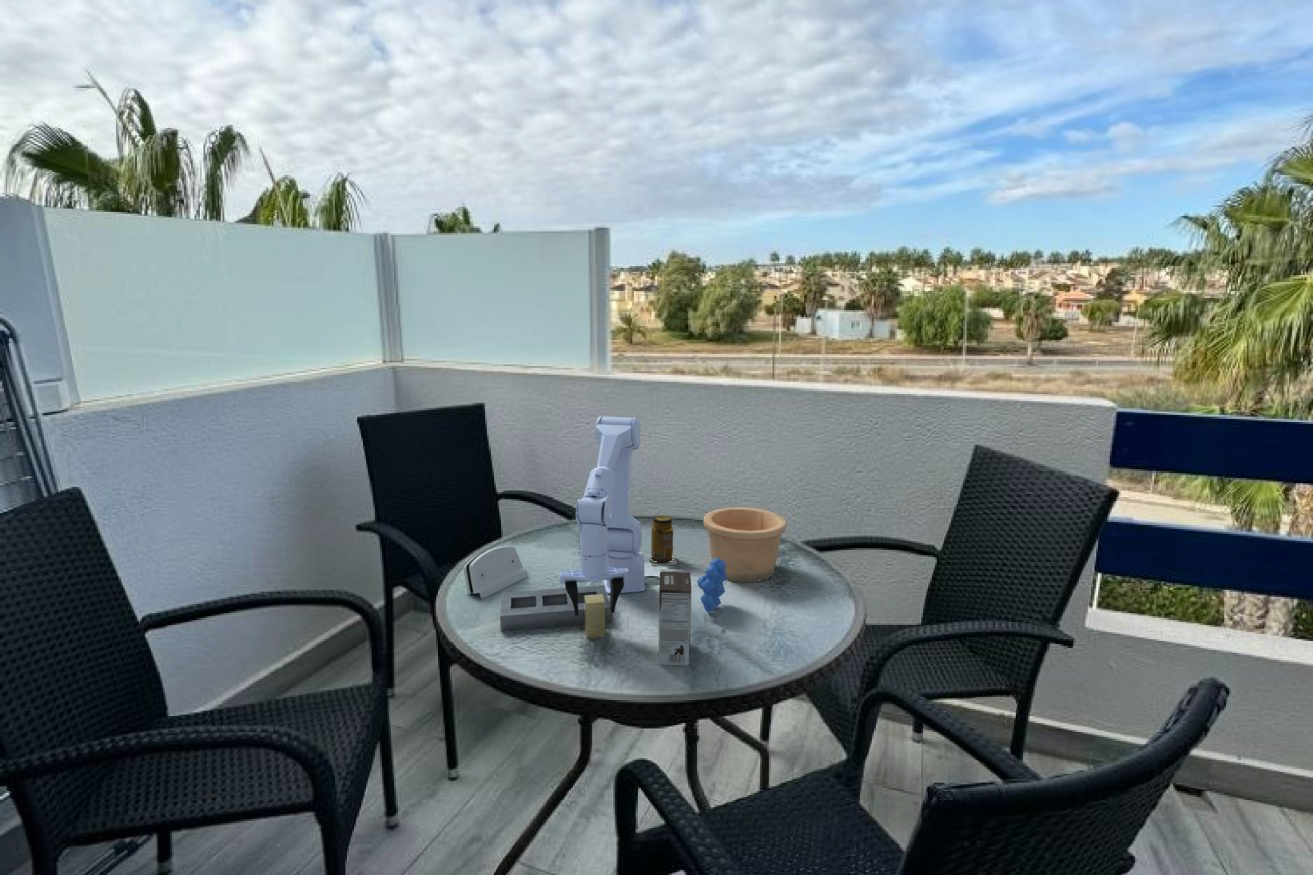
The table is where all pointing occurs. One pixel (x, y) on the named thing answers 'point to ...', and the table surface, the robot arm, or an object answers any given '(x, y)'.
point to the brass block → (594, 615)
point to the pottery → (745, 541)
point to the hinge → (493, 571)
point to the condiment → (662, 541)
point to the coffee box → (674, 618)
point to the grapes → (713, 584)
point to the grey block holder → (545, 608)
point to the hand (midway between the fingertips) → (594, 612)
